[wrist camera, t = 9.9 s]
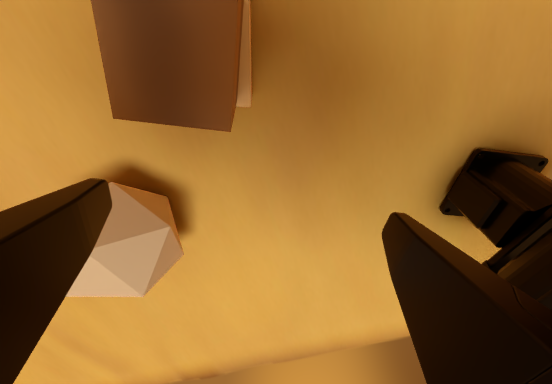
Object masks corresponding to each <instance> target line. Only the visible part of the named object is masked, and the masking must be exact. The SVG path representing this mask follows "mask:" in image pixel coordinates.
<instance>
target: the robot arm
mask: <svg viewBox="0 0 552 384" xmlns="http://www.w3.org/2000/svg"><path fill="white" fill-rule="evenodd" d="M480 154H481V155H480ZM479 155H480V156H479ZM478 156H479V157H478ZM547 163H548V159H547V158H545V157H543V156H539V155H531V154H523V153H514V152H506V151H498V150H490V149H477V150H475V151H474V152H473V153H472V155H471V157H470V158H469V160H468V162H467V163H466V165H465V167H464V168H463V170H462V172H461V174H460V175H459V177H458V179H457V180H456V182H455V184H454V185H453V187H452V189H451V190H450V192H449V194H448V195H447V197H446V199H445V200H444V202H443V204H442V205H441V207H440V211H441V212H442V213H443V214H445V215H455V216H465V217H466V218H467V219H468V220H469V221H470V222H471V223H472V224H473V225H474V226H475V227H476V228H477V229H479V230H480V231H481V232H482V233H483V234H484V235H485V236H486V237H487V238H488V239H489V240H490V241H491V242H492V243H493V244H494V245H495V246H496V247H498V248H501V249H500V250H499V251H498V252H497V253H496V254H495V255H493V256H492V257H491V258H490V259H489V260H488V261H487V260H485V261H484V262H483V263H482V264H481V263H479V262H478V261H476V260H475V259H473V258H472V257H470V256H469V255H467V254H466V253H464V252H463V251H461V250H460V249H458V248H457V247H455V246H454V245H452V244H451V243H449V242H448V241H446V240H445V239H443V238H442V237H440V236H439V235H437V234H436V233H434V232H433V231H431V230H430V229H428V228H427V227H425V226H424V225H422V224H421V223H419V222H418V221H416V220H415V219H413V218H412V217H410V216H409V215H407V214H405V213H398V212H393V213H391V214H390V216H389V218H388V220H387V222H386V224H385V226H384V228H383V231H382V240H383V244H384V249H385V254H386V258H387V263H388V267H389V272H390V275H391V279H392V282H393V285H394V288H395V291H396V294H397V297H398V300H399V303H400V306H401V309H402V312H403V315H404V318H405V321H406V324H407V327H408V330H409V333H410V336H411V338H412V341H413V344H414V347H415V350H416V353H417V356H418V359H419V362H420V364H421V368H422V371H423V374H424V377H425V380H426V383H427V384H552V180H551V179H549V178H547V177H546V176H544V175H542V174H541V173H540V172H541V171H542V170H543V168H544V167H545V166H546V165H547ZM111 209H112V199H111V194H110V189H109V185H108V182H107V181H106V180H104V179H95V178H90V179H87V180H84V181H82V182H79V183H76V184H74V185H71V186H68V187H65V188H63V189H60V190H57V191H55V192H52V193H49V194H47V195H44V196H41V197H39V198H36V199H33V200H30V201H28V202H25V203H22V204H20V205H17V206H14V207H12V208H9V209H6V210H3V211H1V212H0V384H13V383H14V381H15V380H16V378H17V376H18V375H19V373H20V371H21V370H22V368H23V366H24V365H25V363H26V361H27V360H28V358H29V356H30V355H31V353H32V351H33V350H34V348H35V346H36V345H37V343H38V341H39V340H40V338H41V336H42V335H43V333H44V331H45V330H46V328H47V326H48V325H49V323H50V321H51V320H52V318H53V316H54V315H55V313H56V311H57V310H58V308H59V306H60V305H61V303H62V301H63V300H64V298H65V296H66V295H67V293H68V291H69V290H70V288H71V286H72V285H73V283H74V282H75V280H76V278H77V277H78V275H79V273H80V272H81V270H82V268H83V267H84V265H85V263H86V262H87V260H88V258H89V256H90V255H91V253H92V251H93V249H94V247H95V245H96V243H97V240H98V238H99V236H100V234H101V232H102V229H103V227H104V225H105V223H106V220H107V218H108V216H109V214H110V211H111Z"/></svg>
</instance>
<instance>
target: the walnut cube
mask: <svg viewBox="0 0 552 384" xmlns="http://www.w3.org/2000/svg"><path fill="white" fill-rule="evenodd" d="M91 3H92V8H93V14H94V19H95V24H96V30H97V35H98V40H99V46H100V51H101V56H102V62H103V67H104V72H105V78H106V83H107V88H108V94H109V99H110V104H111V109H112V115H113V119H122V120H131V121H139V122H148V123H157V124H165V125H174V126H183V127H191V128H200V129H209V130H218V131H226V132H231V128H232V123H233V118H234V113H235V108H236V103H237V96H238V81H239V66H240V51H241V36H242V21H243V6H244V0H91Z"/></svg>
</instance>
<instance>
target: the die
mask: <svg viewBox="0 0 552 384" xmlns="http://www.w3.org/2000/svg"><path fill="white" fill-rule="evenodd" d="M108 185H109V189H110V194H111V199H112V209H111V211H110V214H109V216H108V218H107V220H106V223H105V225H104V227H103V229H102V232H101V234H100V236H99V238H98V240H97V243H96V245H95V247H94V249H93V251H92V253H91V255H90V256H89V258H88V260H87V262H86V263H85V265H84V267H83V268H82V270H81V272H80V273H79V275H78V277H77V278H76V280H75V282H74V283H73V285H72V286H71V288H70V290H69V291H68V293H67V295H66V296H65V297H144V295H145V294H146V293H147V292H148V291H149V290H150V289H151V288H152V287H153V286H154V285H155V284H156V283H157V282H158V281H159V280H160V279H161V278H162V277H163V276H164V274H165V273H166V272H167V271H168V270H169V269H170V268H171V267H172V266H173V265H174V264H175V263H176V262H177V261H178V260H179V259H180V258H181V257H182V256H183V255H184V253H183V250H182V246H181V243H180V239H179V236H178V232H177V228H176V225H175V221H174V218H173V214H172V211H171V207H170V204H169V200H168V197H167V196H163V195H159V194H155V193H152V192H148V191H144V190H140V189H137V188H133V187H129V186H126V185H122V184H118V183H114V182H110V183H108Z"/></svg>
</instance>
